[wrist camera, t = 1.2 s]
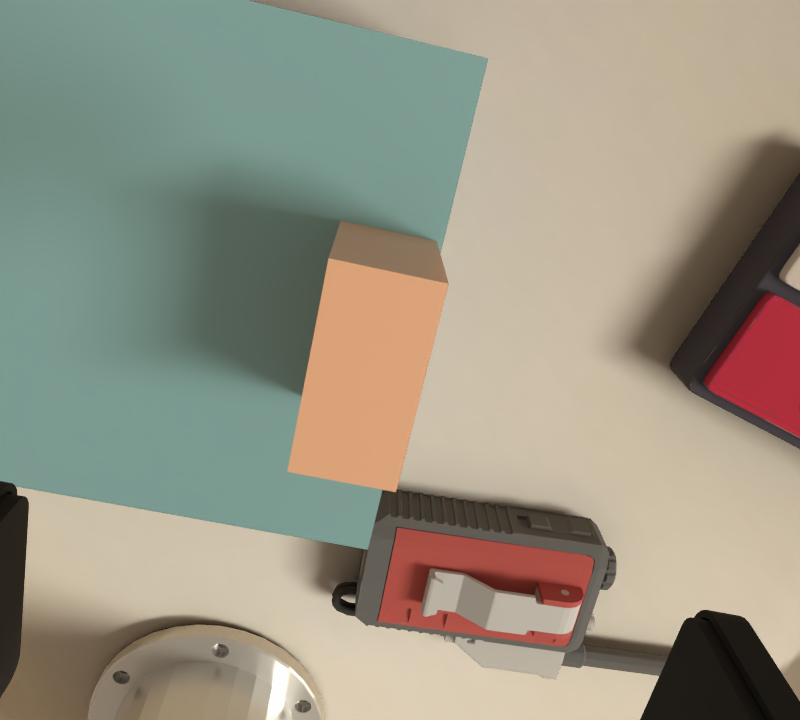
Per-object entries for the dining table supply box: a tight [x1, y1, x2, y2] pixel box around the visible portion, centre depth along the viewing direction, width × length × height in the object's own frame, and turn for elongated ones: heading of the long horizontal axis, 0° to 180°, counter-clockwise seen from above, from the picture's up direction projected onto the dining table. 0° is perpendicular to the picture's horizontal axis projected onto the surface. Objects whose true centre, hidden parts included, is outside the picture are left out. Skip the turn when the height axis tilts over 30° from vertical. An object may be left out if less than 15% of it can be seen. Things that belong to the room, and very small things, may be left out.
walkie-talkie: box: [332, 490, 668, 679], centre depth 38 cm, size 9×4×20 cm
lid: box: [0, 0, 488, 550], centre depth 22 cm, size 17×20×6 cm
